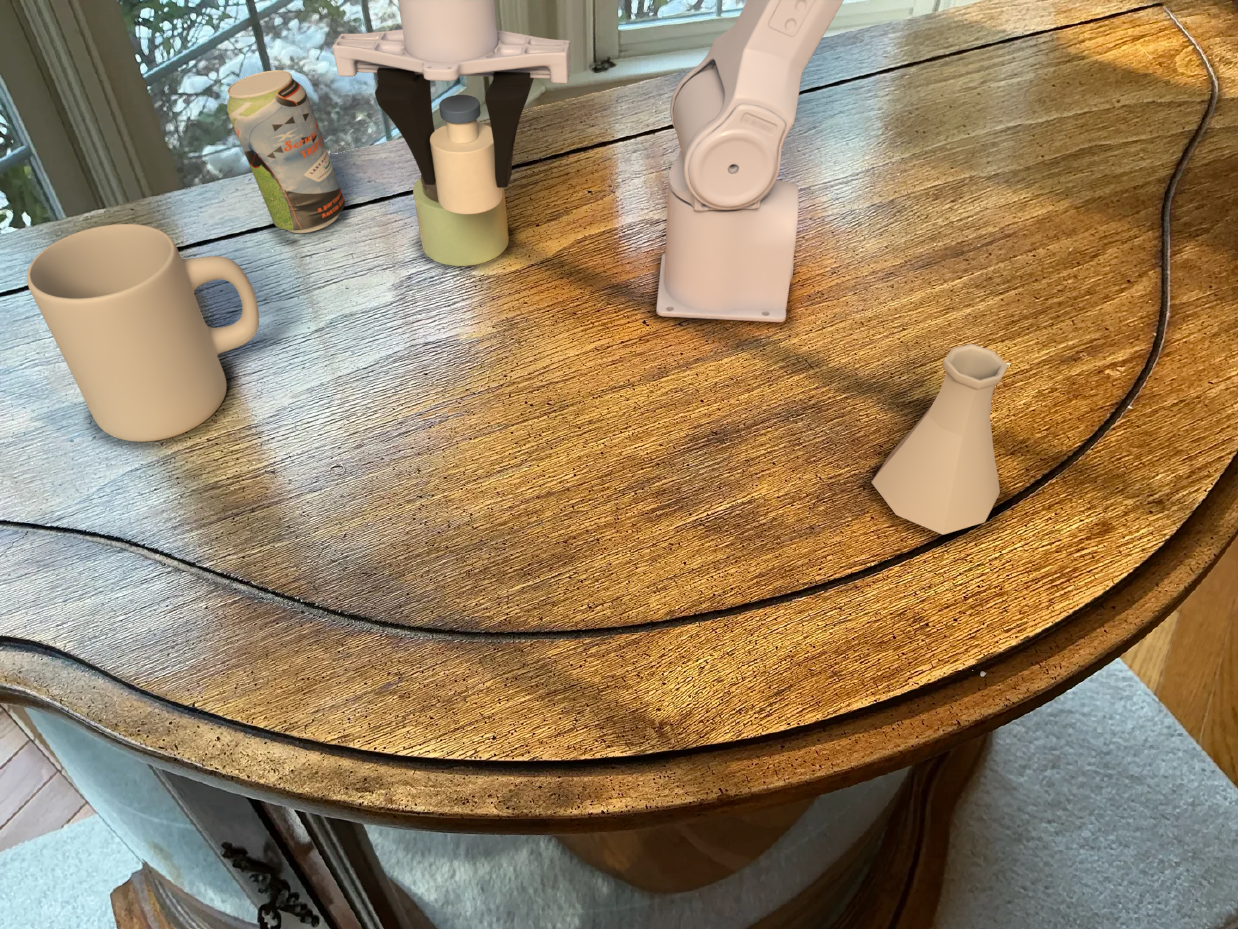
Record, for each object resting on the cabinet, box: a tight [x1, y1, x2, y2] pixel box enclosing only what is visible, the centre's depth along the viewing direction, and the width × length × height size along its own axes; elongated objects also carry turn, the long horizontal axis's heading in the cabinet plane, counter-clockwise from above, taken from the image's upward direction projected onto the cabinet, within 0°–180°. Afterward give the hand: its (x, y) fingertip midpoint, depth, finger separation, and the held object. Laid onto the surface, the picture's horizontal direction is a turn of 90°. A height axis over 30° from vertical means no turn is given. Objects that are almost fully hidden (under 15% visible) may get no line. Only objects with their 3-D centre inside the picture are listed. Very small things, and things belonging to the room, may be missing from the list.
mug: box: [26, 223, 260, 443], centre depth 63 cm, size 12×8×11 cm
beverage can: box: [226, 69, 346, 234], centre depth 78 cm, size 6×7×12 cm
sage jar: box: [412, 174, 510, 267], centre depth 78 cm, size 7×7×6 cm
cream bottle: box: [430, 94, 502, 214], centre depth 66 cm, size 4×4×7 cm
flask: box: [871, 343, 1009, 535], centre depth 56 cm, size 7×7×10 cm
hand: (467, 179), depth 67 cm, fingers closed on cream bottle, 4 cm apart
